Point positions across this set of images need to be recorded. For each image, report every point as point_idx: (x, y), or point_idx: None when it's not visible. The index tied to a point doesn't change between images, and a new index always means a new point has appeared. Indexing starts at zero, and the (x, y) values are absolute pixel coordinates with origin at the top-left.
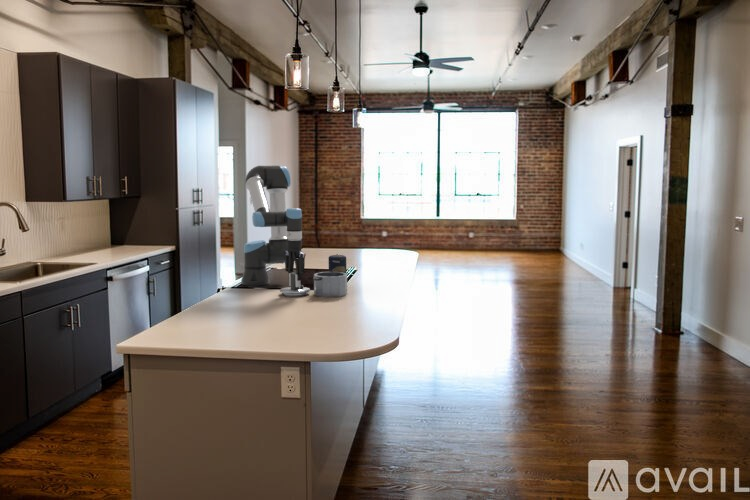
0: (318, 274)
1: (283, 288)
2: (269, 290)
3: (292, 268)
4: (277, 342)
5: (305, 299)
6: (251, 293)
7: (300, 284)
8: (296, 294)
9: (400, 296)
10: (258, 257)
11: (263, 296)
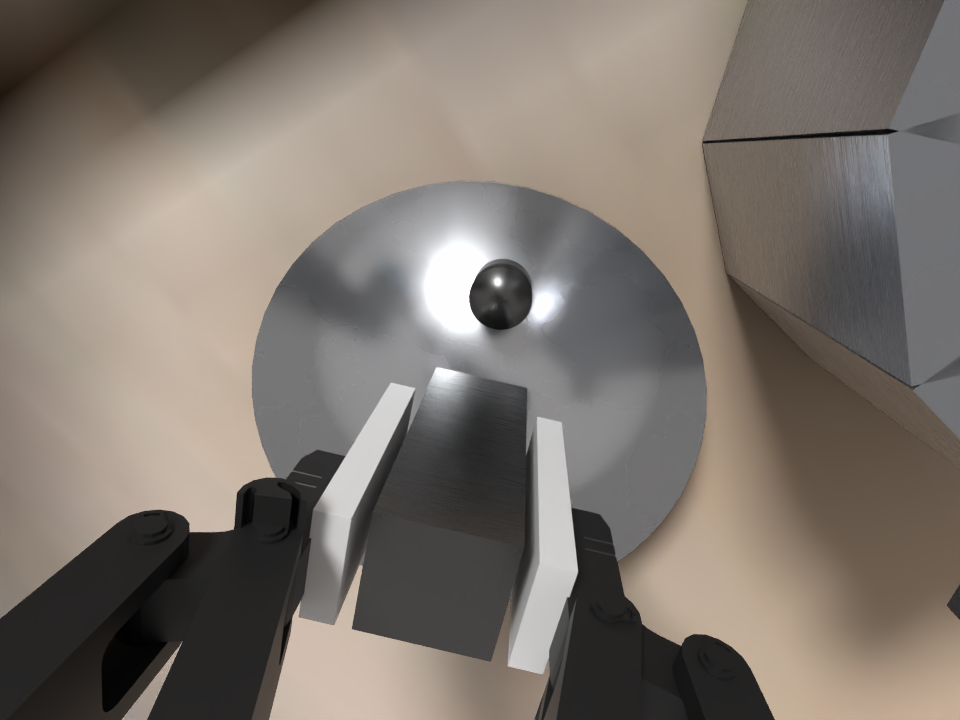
0: (957, 115)
1: (273, 419)
2: (15, 313)
3: (278, 634)
4: None
5: (765, 584)
6: (16, 544)
7: (563, 440)
8: None
9: None
10: None
11: None
